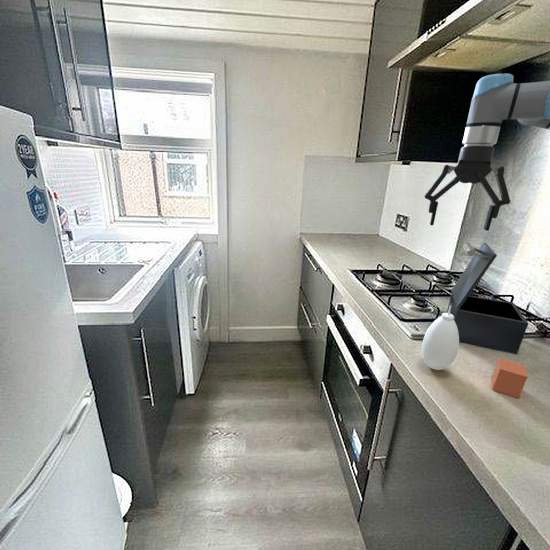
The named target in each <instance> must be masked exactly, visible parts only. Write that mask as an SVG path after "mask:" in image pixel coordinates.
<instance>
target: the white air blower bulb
mask: <svg viewBox="0 0 550 550" xmlns="http://www.w3.org/2000/svg"><path fill="white" fill-rule="evenodd" d="M447 310H448V309H447ZM450 310H451V305H450V307H449V310H448V313H447V312H442V314H441V316H439V317H437V318H436V319H435V320H434V321H433V322H432V323H431V324H430V326H429V327H428V328H427V330H426V332H425V334H424V336H423V339H422V342H421V355H422V358H423V361H424V363H425V364H426V365H427V367H429V368H430V369H432V370H434V371H442V370H446V369H447V368H448V367H450V366H451V365H452V364H453V363H454V361H455V359H457V356H458V352H459V348H460V342H459V333H458V329H457V325H456V323H455V321H454V320H453V319H454V316H453V315H452V314H450Z"/></svg>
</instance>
